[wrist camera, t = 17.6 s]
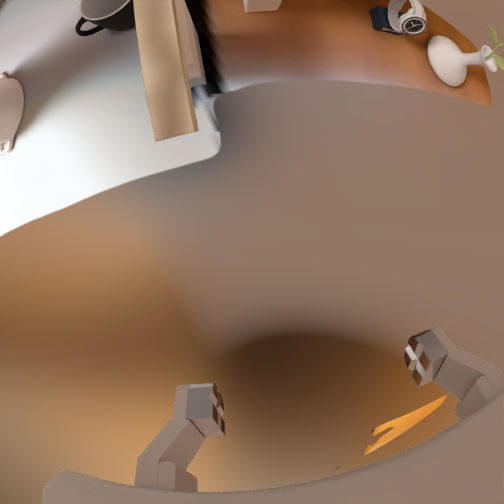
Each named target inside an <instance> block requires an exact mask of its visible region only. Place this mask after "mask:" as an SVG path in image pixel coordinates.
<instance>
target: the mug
mask: <svg viewBox="0 0 504 504" xmlns="http://www.w3.org/2000/svg"><path fill="white" fill-rule="evenodd" d="M79 10H80V14H81V15H82V17H81V19H80V20H79V21H78V23H77V25H76V33H77V34H78V35H80V36H88V35H92V34H94V33H96V32H98V31H100V30H102V29H105V28H107V29H111V30H116V31H123V30H128V29H131V28H133V27H135V26H136V22H135V13H134V2H133V0H81V2H80V6H79ZM87 21H90V22H92V23H94V24H96V25H98V26H97V27H95V28H93V29H90V30H87V31H81V30H80V28H81V26H82V25H83V24H84V23H85V22H87Z"/></svg>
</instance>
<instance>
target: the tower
mask: <svg viewBox="0 0 504 504" xmlns="http://www.w3.org/2000/svg"><path fill="white" fill-rule="evenodd" d="M243 2H244V6H245V11H246V13H250V12H261V11H277V10H278V8H279V6H280V4H281V2H282V0H243Z"/></svg>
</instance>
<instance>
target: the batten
mask: <svg viewBox="0 0 504 504" xmlns="http://www.w3.org/2000/svg"><path fill="white" fill-rule="evenodd" d="M133 2H134V13H135V22H136V31H137V39H138V47H139V54H140V60H141V67H142V73H143V79H144V85H145V91H146V96H147V101H148V107H149V112H150V117H151V122H152V127H153V131H154V136H155V140H156V142H157V141H161V140H164V139H168V138H172V137H176V136H180V135H184V134H188V133H192V132H196V131H199V130H198V125H197V120H196V114H195V109H194V104H193V99H192V93H191V88H190V83H189V77H188V71H187V66H186V60H185V54H184V48H183V43H182V36H181V30H180V24H179V18H178V11H177V5H176V0H133Z"/></svg>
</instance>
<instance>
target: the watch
mask: <svg viewBox="0 0 504 504" xmlns="http://www.w3.org/2000/svg"><path fill="white" fill-rule="evenodd" d="M406 1H407V0H391V1H390V2H389V5H388V7H389V8H384V7H380V6H377V7H375V8H373V9H372V10H370V14H371V19H372V23H373V28H374V30H378V31H383V32H388V33H392V34H396V35H400V34H403V33H406V34H408V35H418V34H420V33H422V32H424V31H425V30H426V29H427V22H426V15H425V12H424V8H423V6H422V4H421V2H420V1H419V0H410V2H411V5H412V9H411V8H410V9H409V10H408V12H407V13H405V14H404V15H403V13H402V12H399V10H401V8H402V6H403V5H404V3H405V2H406Z"/></svg>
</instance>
